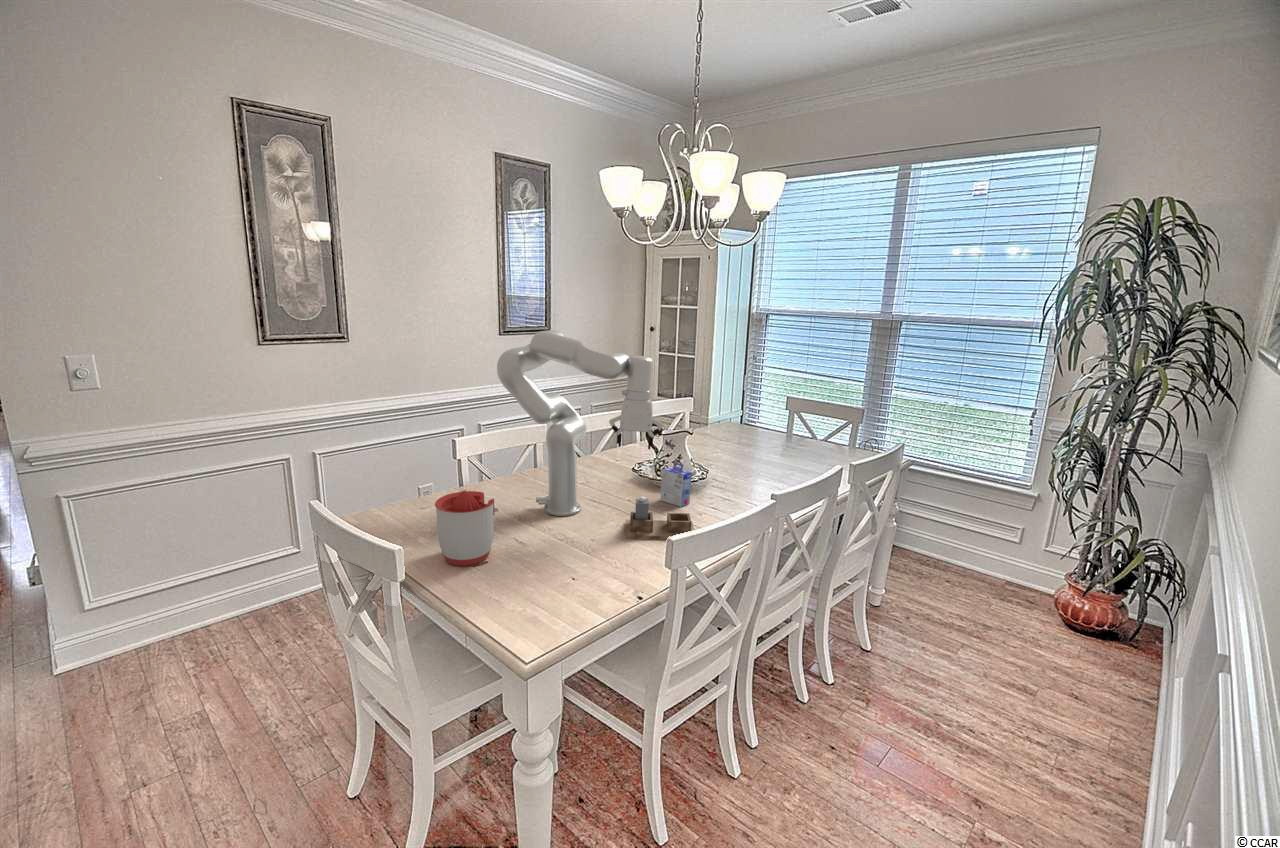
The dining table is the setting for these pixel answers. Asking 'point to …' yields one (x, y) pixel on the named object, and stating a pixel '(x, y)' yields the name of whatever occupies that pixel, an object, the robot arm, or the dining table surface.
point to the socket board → (658, 526)
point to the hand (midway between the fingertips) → (634, 447)
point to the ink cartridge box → (676, 485)
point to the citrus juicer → (465, 527)
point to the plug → (642, 509)
